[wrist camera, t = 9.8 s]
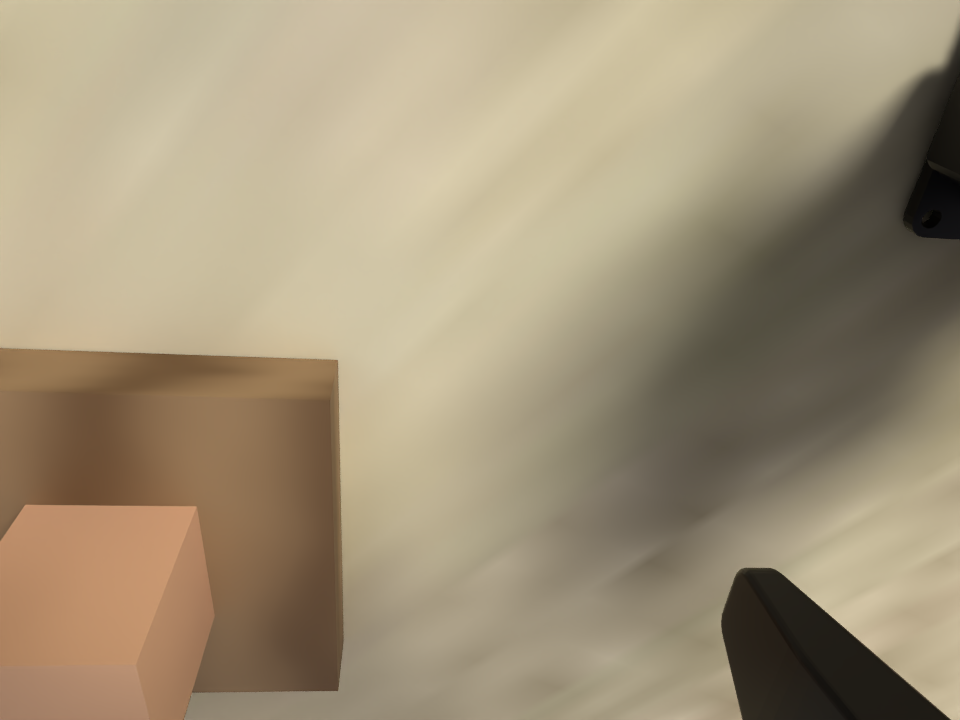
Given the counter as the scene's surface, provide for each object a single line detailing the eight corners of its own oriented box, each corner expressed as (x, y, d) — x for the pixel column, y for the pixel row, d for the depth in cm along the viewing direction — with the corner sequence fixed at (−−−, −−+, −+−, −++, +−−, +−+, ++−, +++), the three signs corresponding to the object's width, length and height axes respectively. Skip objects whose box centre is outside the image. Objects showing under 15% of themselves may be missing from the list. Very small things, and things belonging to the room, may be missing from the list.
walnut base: (337, 360, 20) (330, 400, 18) (343, 641, 26) (338, 690, 25) (-125, 343, 19) (-180, 385, 17) (-6, 642, 25) (-37, 695, 23)
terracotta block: (196, 506, 20) (136, 664, 16) (214, 615, 22) (165, 779, 18) (25, 504, 19) (-87, 667, 15) (61, 616, 22) (-26, 784, 18)
